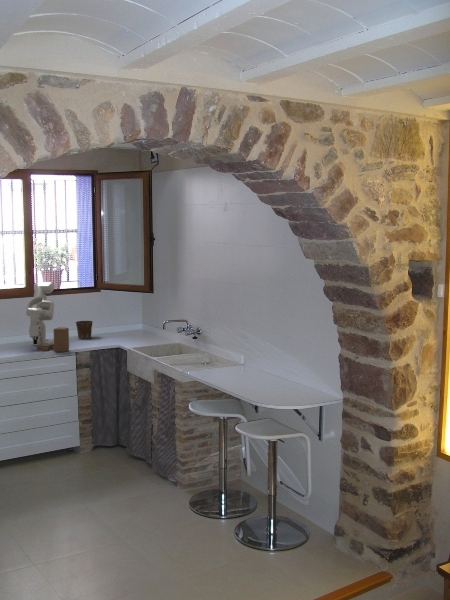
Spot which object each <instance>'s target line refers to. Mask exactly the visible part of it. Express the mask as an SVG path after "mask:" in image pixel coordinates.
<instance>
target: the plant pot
mask: <svg viewBox="0 0 450 600" xmlns="http://www.w3.org/2000/svg"><path fill="white" fill-rule="evenodd" d="M75 325H76V331H77V338H79V339H78V340H88V339H87V338H90V339H92V329H93V320H78V321H75Z"/></svg>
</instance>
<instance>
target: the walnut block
mask: <svg viewBox="0 0 450 600" xmlns="http://www.w3.org/2000/svg"><path fill="white" fill-rule="evenodd" d="M37 351H38V352H41V351H43V352H51V351H54V343H48V342H46V343H43V344H40V345H38V346H37Z"/></svg>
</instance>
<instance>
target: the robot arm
mask: <svg viewBox="0 0 450 600" xmlns="http://www.w3.org/2000/svg"><path fill="white" fill-rule="evenodd" d="M54 290H55V284H54V283H53V282H52V281H38V282H36V283H35V284H34V292H33V297H32V299H31V300H29V302H28V303H27V306H26V312H25V313H26V316H27V317H29V318H30V319H29V320H30V321H29V327H28V328H29V329H28V334H29V338H31V339H32V342H33V343H32V344H33V346H34V347H35V346H37V347H38V345H40V344H43V343H47V342H49V338H47V337H46V336H47V335H46V334H47V333H46V323H45V322H44V321H52V320H53V318H54V313H55V312H54V311H55V302H54V300H50V299H48V296H47V295H46V294H51V293H52V292H53V291H54ZM33 306H35V307H33Z"/></svg>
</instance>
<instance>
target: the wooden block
mask: <svg viewBox="0 0 450 600" xmlns="http://www.w3.org/2000/svg"><path fill="white" fill-rule="evenodd" d="M69 331H70V329H69V327H66V326H65V327H63V326H61V327H60V326H59V327H56V328H53V344H54V349H53V351H54V352H55V353H65V352H68V351H69V350H70V337H69V335H70V334H69V333H70V332H69Z"/></svg>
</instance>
